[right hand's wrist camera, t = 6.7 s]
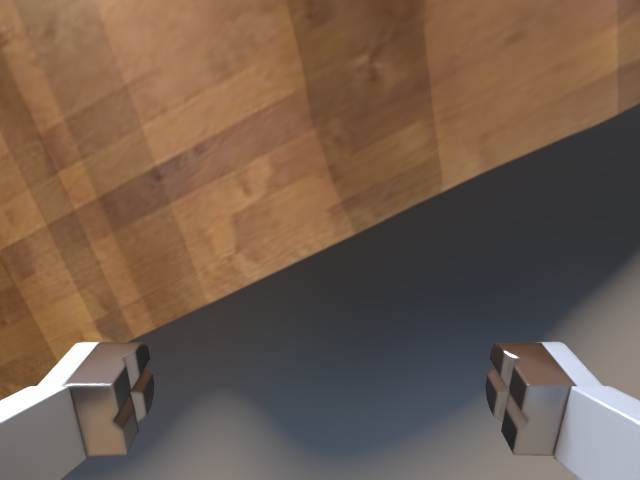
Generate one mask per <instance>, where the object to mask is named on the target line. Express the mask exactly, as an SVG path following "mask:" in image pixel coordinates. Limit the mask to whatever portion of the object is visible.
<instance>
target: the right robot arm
mask: <svg viewBox="0 0 640 480" xmlns="http://www.w3.org/2000/svg"><path fill="white" fill-rule="evenodd" d="M149 360H150V356H149V351H148V347H147V346H146V345H145V344H144V343H118V342H102V343H101V342H80V343H77V344H75V345H74V346H73V347H72V348H71V350H70V351H69V352H68V353H67V354H66V355H65V356H64V357H63V358H62V359H61V360H60V362H59V363H58V364H57V365H56V366H55V367H54V368H53V369H52V370H51V371H50V372H49V374H48V375H47V376H46V377H45V378H44V379H43V380H42V381H41V382H40V383H39V384H38V386H29V387H27V388H25V389H23V390H21V391H19V392H17V393H15V394H13V395H11V396H9V397H7V398H5V399H3V400H1V401H0V480H61V479H62V478H63V477H64V476H66V475H67V474H68V473H69V472H70V471H72V470H73V469H74V468H75V467H76V466H78V465H79V464H80V463H81V462H82V461H84V460H85V459H86V456H106V455H127V453H128V451H129V449H130V447H131V445H132V443H133V441H134V439H135V437H136V435H137V433H138V431H139V430H138V424H137V422H138V421H140V420H141V419H143V418H144V417H146V416H147V414H148V412H149V409H150V407H151V404H152V400H153V395H154V380H153V374H152V373H151V372H150V371H149V370H148V369H147V368H146V367H145V366H146V365H147V363H148V361H149ZM490 360H491V361H492V363H493V365H494V366H495V367H494V368H493V369H492V370H491V371H490V372H489V373H488V374H487V381H486V395H487V401H488V404H489V407H490V410H491V412H492V414H493V416H494V417H496V418H497V419H499V420H500V421H502V422H503V424H502V430H501V432H502V433H503V435H504V437H505V439H506V441H507V443H508V445H509V447H510V449H511V451H512V453H513V455H533V456H554V459H555V460H557V461H558V462H559V463H560V464H561V465H563V466H564V467H565V468H566V469H567V470H569V471H570V472H571V473H572V474H573V475H575V476H576V477H577V478H578V479H579V480H640V401H639V400H637V399H635V398H633V397H631V396H629V395H627V394H625V393H623V392H621V391H619V390H617V389H615V388H613V387H610V386H602V384H601V383H600V382H599V381H598V380H597V379H596V378H595V377H594V376H593V375H592V374H591V372H590V371H589V370H588V369H587V368H586V367H585V366H584V365H583V364H582V363H581V362H580V360H579V359H578V358H577V357H576V356H575V355H574V354H573V353H572V352H571V351H570V349H569V348H568V347H567V346H566V345H565V344H563V343H561V342H539V343H504V344H494V346H493V348H492V350H491V356H490Z"/></svg>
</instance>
